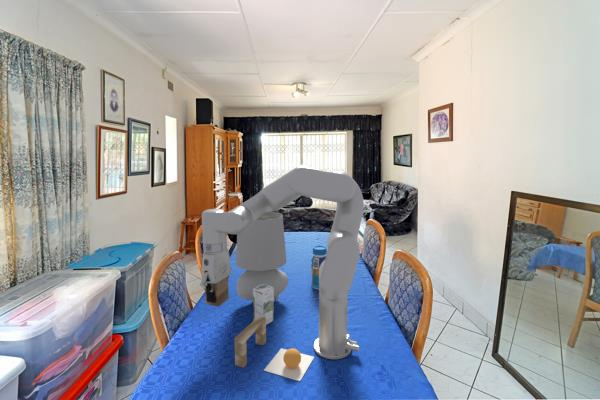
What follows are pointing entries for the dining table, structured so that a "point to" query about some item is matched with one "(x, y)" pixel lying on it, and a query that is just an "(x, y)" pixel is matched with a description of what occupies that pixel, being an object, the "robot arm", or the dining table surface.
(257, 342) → the bridge
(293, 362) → the ball
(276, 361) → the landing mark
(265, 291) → the syrup box
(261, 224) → the table lamp
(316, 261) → the beverage bottle
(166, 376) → the dining table surface
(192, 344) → the dining table surface
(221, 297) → the brown block
